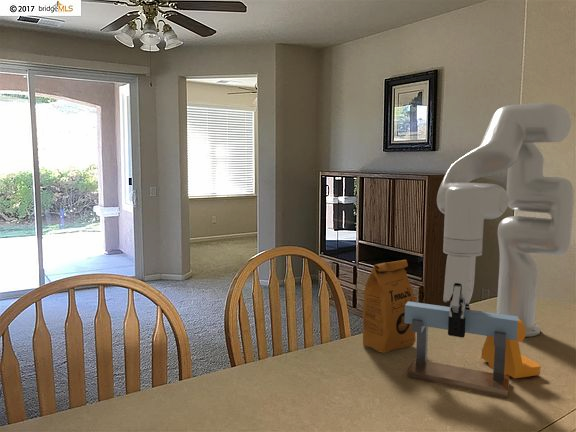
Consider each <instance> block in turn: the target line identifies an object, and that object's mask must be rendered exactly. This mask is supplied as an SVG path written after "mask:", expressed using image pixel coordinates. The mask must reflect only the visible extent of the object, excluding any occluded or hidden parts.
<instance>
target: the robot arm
mask: <svg viewBox="0 0 576 432" xmlns="http://www.w3.org/2000/svg"><path fill="white" fill-rule="evenodd" d="M488 123H489V124H488V126H487V128H486V130H485V133H484V135H483V137H482V139H481V142H480V144H479V146H478V147H476V148H474V149H472V150H471V151H469V152H467V153H466V154H465V155H463V156H462V157H460V158H459V159H457V160H456V161H455V162H454V163H452V164H451V165H450V167H449V168H448V169H447V171H446V173H445V174H444V176H443V179H442V181H441V183H440V186H439V188H438V191H437V196H436V206H437V208H438V210H439V211H440V213H442V214H444V221H443V223H444V225H443V242H442V243H443V244H442V245H443V247H442V252H443V253H444V254H445V255H447V256H446V262H445V263H446V264H445V272H444V287H443V288H444V289H443V295H442V296H443V297H442V298H443V299H442V300H443V302H444V303H448V302H449V301H450V305H449V307H450V313H449V319H448V330H447V335H448V336H451V337H457V338H465V336H466V333H465V321H466V318H464V313H465V309H468V310H471V307H470V302H471V299H472V296H473V293H474V286H475V276H476V262H477V261H476V260H477V257H480V256H482V255H483V242H484V223H485V221H484V220H494V219H495V220H496V219H498V218H499V217H501V216H503V214H505V212H506V210H507V209H508V208H509V209H511V210H513V211H518V212H527V213H528V212H529V213H542V214H549V215H550V217H551V218H547V217H546V218H545V217H536V216H524V215H523V216H522V215H513V216H512V215H511V216H507V217H505V218H503V219H502V220H501V221H500V222H499V223H498V227H497V240H498V248H499V249H498V250H499V264H498V265H499V269H498V270H499V271H498V285H497V287H498V288H497V300H496V303H497V304H496V313H497V314H504V315H512V316H518V318H519V319H520V320H521V321H522V322H523V324H524V326H525V330H526V335H525V338H526V337H535V336H537V335H539V334H541V333H540V332H541V327H540V326H539V325H538V324H536V323H535V317H536V316H535V315H536V299H537V286H538V285H537V284H538V266H537V264H536V262H535V260H534V258H533V257H532V256H531V254H540V255H547V256H557V257H558V256H564V255H565V254H566V253H568V251H569V249H570V245H571V239H572V228H573V215H574V199H575V197H574V196H575V195H574V191H575V190H574V187H573V184H572V182H571V180H569V179H568V178H565V177H560V176H544V172H543V171H544V161H545V160H544V159H545V158H544V156H543V154H542V152H541V150H540V149H539V147H538V146H537V145H536V144H535V143H560V142H563V141H564V140H565V139H566V138H567V137H568V136H569V133H570V130H571V125H572V122H571V116H570V114H569V111H568V110H567V109H566V108H565V107H563V106H561V105H557V104H554V103H550V102H534V103H524V104H523V103H522V104H521V103H520V104H519V103H518V104H510V105H504V106H502V107H500V108H498V109H497V110H496V111H495V112H494V113H493V114H492V116H491V119H490V121H489V122H488ZM504 170H507V177H506V178H507V179H506V189H505V188H504V187H503V186H501V185H500V184H496V183H486V182H485V183H483V182H482V183H481V182H479V183H478V182H472V181H473V180H474V181H475V180H476V179H479V178H483V177H486V176H490V175H493V174H496V173H500V172H503V171H504Z"/></svg>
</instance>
